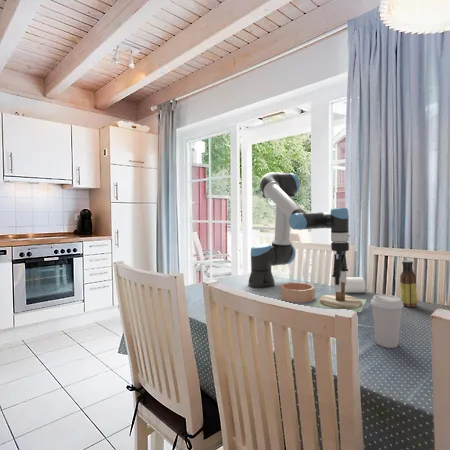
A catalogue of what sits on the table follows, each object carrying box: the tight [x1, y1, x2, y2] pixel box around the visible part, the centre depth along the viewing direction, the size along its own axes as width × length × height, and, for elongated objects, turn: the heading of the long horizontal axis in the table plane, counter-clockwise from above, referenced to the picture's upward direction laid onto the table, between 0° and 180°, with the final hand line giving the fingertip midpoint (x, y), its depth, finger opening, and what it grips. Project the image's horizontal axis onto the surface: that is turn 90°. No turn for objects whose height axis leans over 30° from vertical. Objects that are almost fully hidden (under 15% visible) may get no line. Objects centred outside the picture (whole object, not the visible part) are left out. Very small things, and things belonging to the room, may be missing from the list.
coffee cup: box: [370, 294, 405, 349], centre depth 102 cm, size 10×10×15 cm
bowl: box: [279, 281, 316, 303], centre depth 155 cm, size 16×16×6 cm
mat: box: [312, 294, 367, 313], centre depth 145 cm, size 20×20×1 cm
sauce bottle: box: [399, 260, 418, 308], centre depth 140 cm, size 6×6×20 cm
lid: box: [319, 282, 362, 310], centre depth 145 cm, size 18×18×9 cm
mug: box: [345, 276, 366, 294], centre depth 165 cm, size 12×10×8 cm
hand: (340, 288), depth 145 cm, fingers open, 13 cm apart
